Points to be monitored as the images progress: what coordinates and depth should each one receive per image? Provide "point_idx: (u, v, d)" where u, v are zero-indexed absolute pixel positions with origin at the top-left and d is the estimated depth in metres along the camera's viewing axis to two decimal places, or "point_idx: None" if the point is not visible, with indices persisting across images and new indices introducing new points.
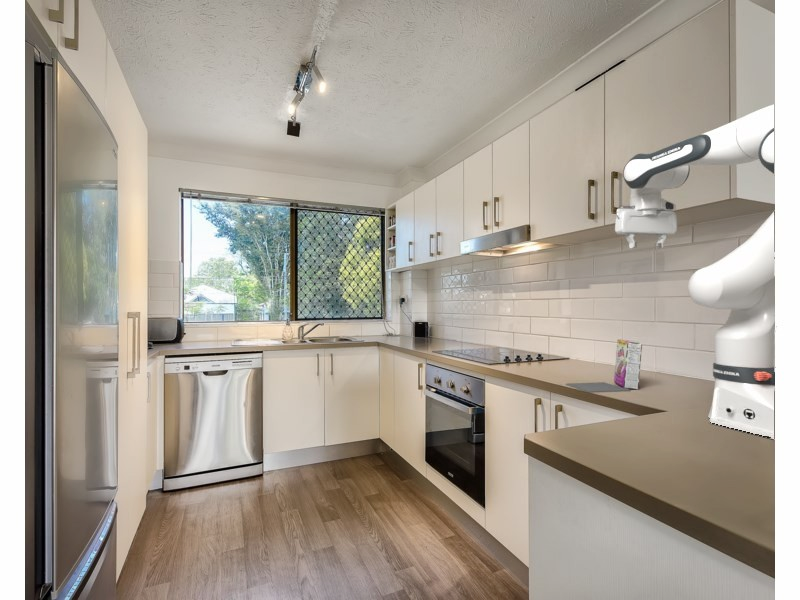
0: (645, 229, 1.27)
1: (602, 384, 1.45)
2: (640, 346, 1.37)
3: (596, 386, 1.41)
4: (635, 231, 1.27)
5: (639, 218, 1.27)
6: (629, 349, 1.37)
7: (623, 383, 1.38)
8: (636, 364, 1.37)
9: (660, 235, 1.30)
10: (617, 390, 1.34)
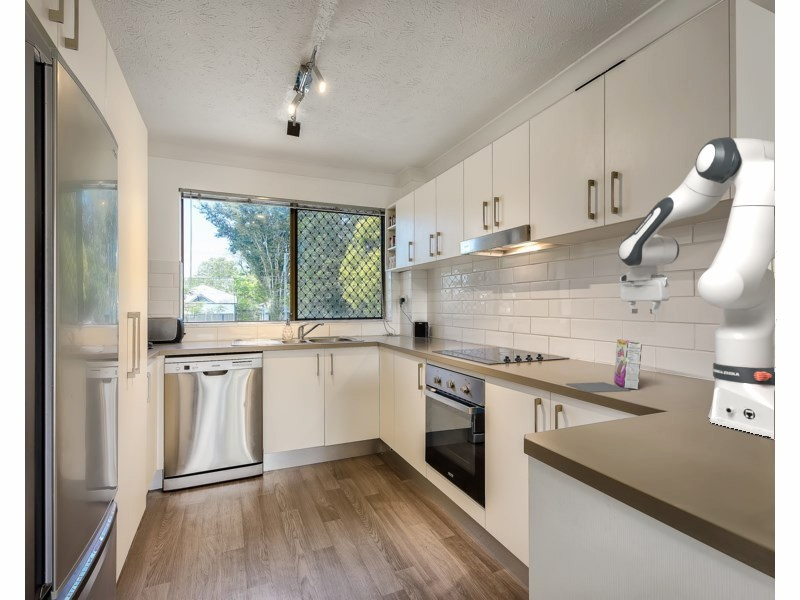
0: None
1: (602, 384, 1.45)
2: (640, 346, 1.37)
3: (596, 386, 1.41)
4: None
5: None
6: (629, 349, 1.37)
7: (623, 383, 1.38)
8: (636, 364, 1.37)
9: (633, 302, 1.50)
10: (617, 390, 1.34)
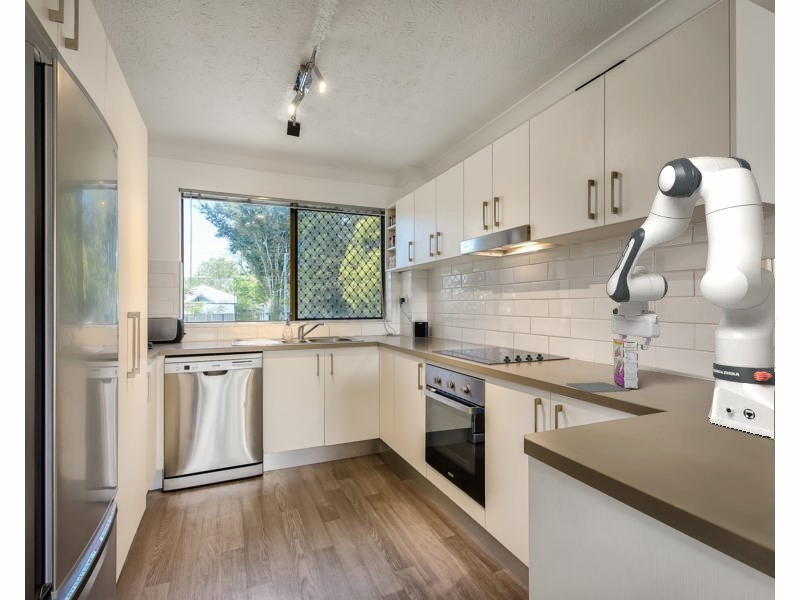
0: None
1: (602, 384, 1.45)
2: (636, 345, 1.37)
3: (596, 386, 1.41)
4: None
5: None
6: (625, 348, 1.38)
7: (623, 383, 1.38)
8: (633, 363, 1.37)
9: (625, 335, 1.49)
10: (617, 390, 1.34)
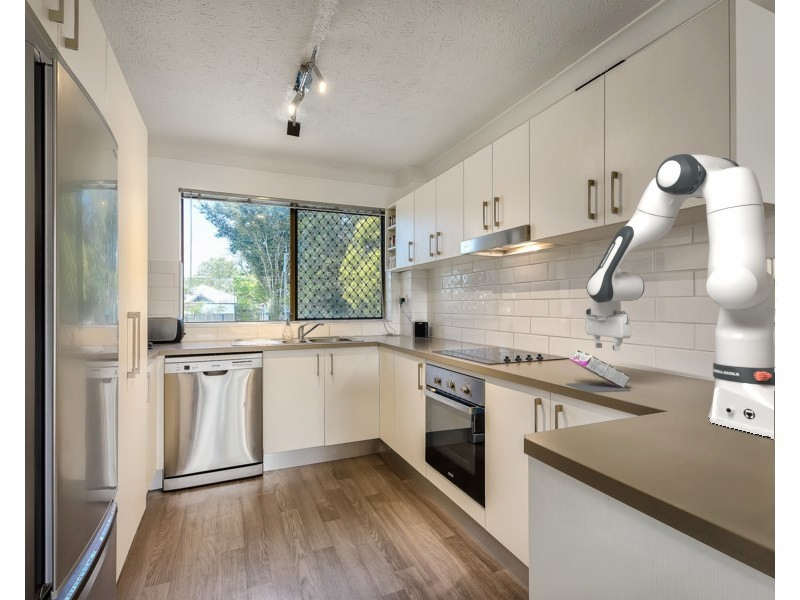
0: None
1: (602, 384, 1.45)
2: (593, 358, 1.36)
3: (596, 386, 1.41)
4: None
5: None
6: (592, 368, 1.36)
7: (618, 385, 1.38)
8: (608, 369, 1.37)
9: (598, 336, 1.47)
10: (617, 390, 1.34)
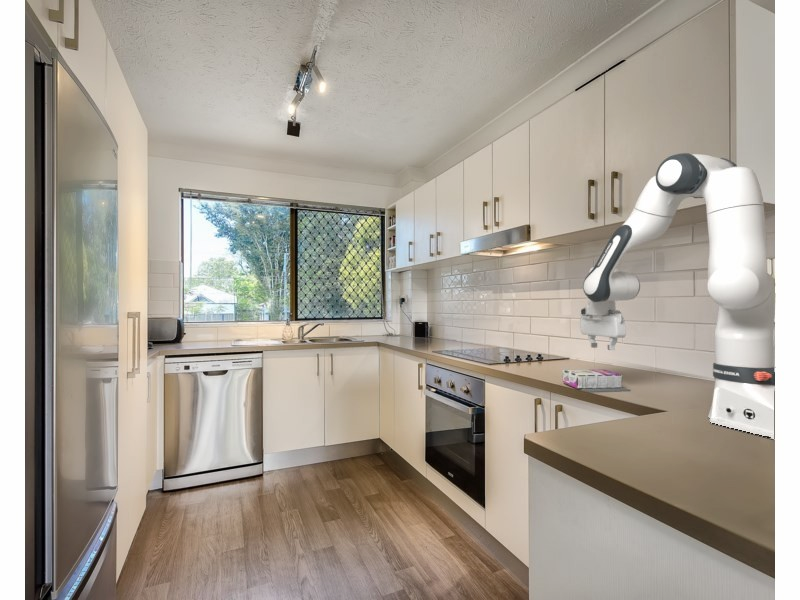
0: None
1: None
2: (580, 376, 1.37)
3: None
4: None
5: None
6: (584, 386, 1.37)
7: (616, 387, 1.38)
8: (598, 379, 1.37)
9: (593, 335, 1.47)
10: (617, 390, 1.34)
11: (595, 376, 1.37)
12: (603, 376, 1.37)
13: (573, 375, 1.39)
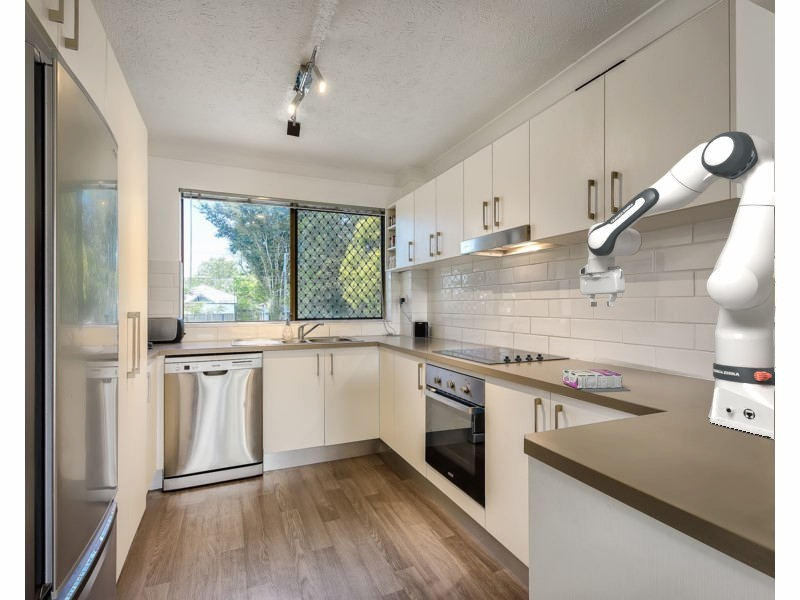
0: None
1: None
2: (580, 376, 1.37)
3: None
4: None
5: None
6: (584, 386, 1.37)
7: (616, 387, 1.38)
8: (598, 379, 1.37)
9: (593, 295, 1.47)
10: (617, 390, 1.34)
11: (595, 376, 1.37)
12: (603, 376, 1.37)
13: (573, 375, 1.39)
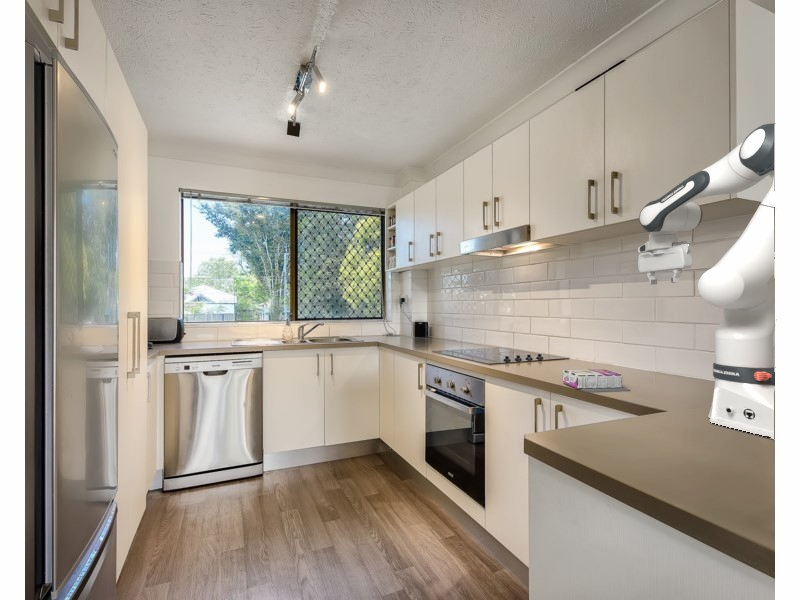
0: None
1: None
2: (580, 376, 1.37)
3: None
4: None
5: None
6: (584, 386, 1.37)
7: (616, 387, 1.38)
8: (598, 379, 1.37)
9: (652, 272, 1.45)
10: (617, 390, 1.34)
11: (595, 376, 1.37)
12: (603, 376, 1.37)
13: (573, 375, 1.39)
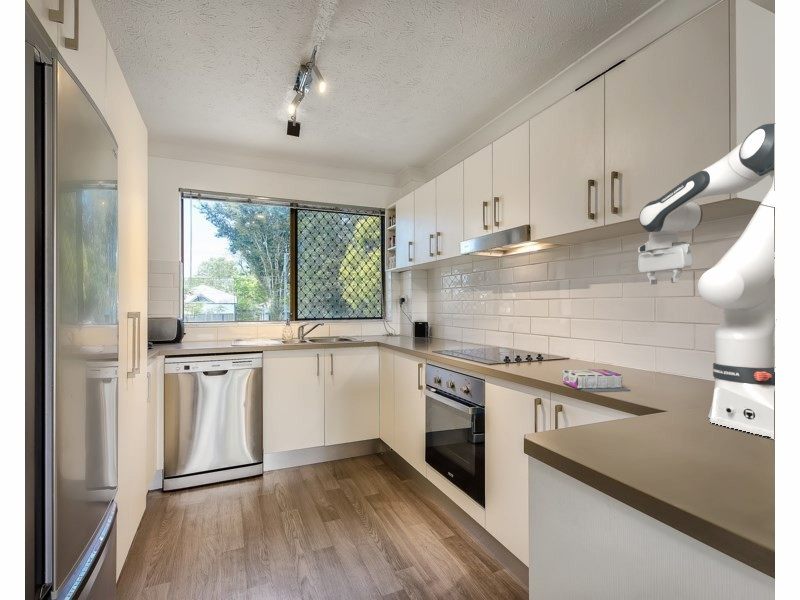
0: None
1: None
2: (580, 376, 1.37)
3: None
4: None
5: None
6: (584, 386, 1.37)
7: (616, 387, 1.38)
8: (598, 379, 1.37)
9: (652, 272, 1.45)
10: (617, 390, 1.34)
11: (595, 376, 1.37)
12: (603, 376, 1.37)
13: (573, 375, 1.39)
